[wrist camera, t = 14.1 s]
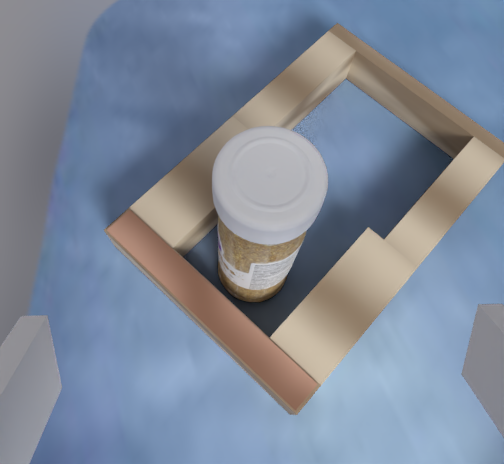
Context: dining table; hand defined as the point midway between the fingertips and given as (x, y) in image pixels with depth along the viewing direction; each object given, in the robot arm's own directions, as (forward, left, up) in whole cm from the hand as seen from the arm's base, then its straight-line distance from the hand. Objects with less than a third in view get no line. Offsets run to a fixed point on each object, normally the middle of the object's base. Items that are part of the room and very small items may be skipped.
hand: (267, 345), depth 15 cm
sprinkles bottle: (-5, -4, -15) cm, 16 cm away
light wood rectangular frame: (-11, -4, -15) cm, 19 cm away
